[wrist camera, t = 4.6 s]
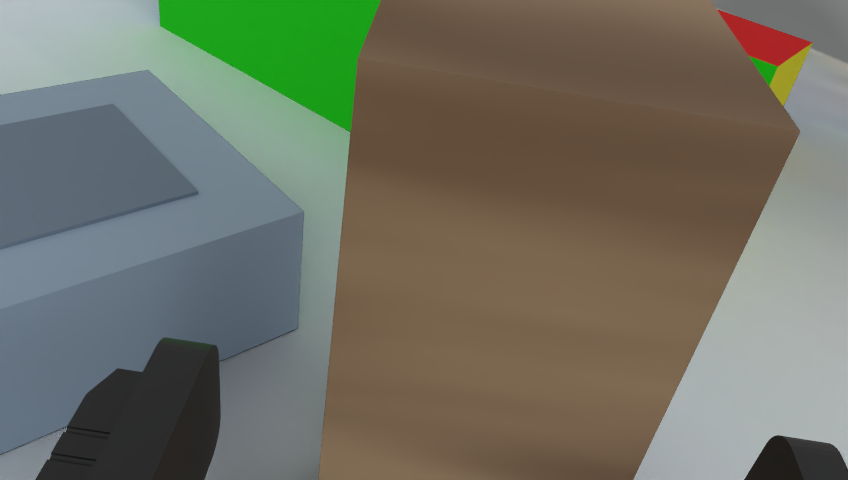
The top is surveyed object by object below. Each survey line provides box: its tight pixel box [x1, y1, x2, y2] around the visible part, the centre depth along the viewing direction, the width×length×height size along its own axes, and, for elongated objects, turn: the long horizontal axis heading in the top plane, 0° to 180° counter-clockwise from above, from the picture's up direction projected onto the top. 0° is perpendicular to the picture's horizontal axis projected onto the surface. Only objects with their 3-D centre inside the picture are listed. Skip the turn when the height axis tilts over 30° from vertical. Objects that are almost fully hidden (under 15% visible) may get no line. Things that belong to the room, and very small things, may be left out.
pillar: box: [318, 0, 800, 480], centre depth 13 cm, size 4×4×12 cm
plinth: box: [0, 70, 304, 454], centre depth 20 cm, size 9×9×4 cm
